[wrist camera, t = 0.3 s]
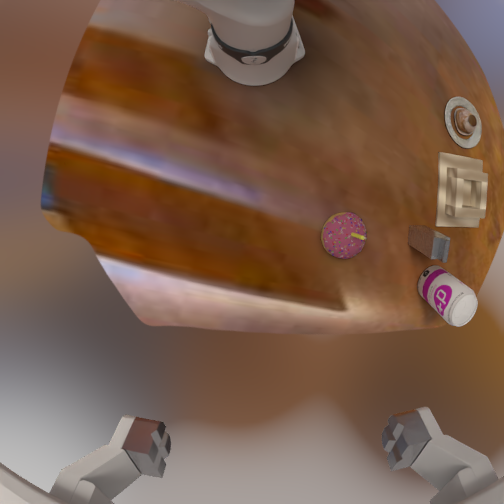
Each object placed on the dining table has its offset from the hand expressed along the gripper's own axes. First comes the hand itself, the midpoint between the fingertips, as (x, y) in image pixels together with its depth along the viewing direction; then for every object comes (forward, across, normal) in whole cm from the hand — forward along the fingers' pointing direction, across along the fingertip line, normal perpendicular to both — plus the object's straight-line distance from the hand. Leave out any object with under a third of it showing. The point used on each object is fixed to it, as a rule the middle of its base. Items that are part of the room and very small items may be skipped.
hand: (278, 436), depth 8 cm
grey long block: (+47, -32, +5) cm, 57 cm away
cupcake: (+47, -14, +4) cm, 49 cm away
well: (+47, -44, -5) cm, 65 cm away
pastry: (+48, -45, -21) cm, 69 cm away
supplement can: (+47, -38, +16) cm, 63 cm away
